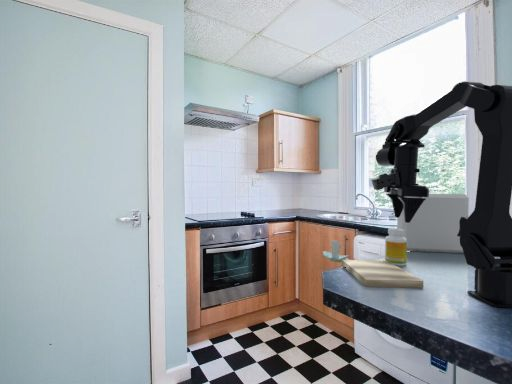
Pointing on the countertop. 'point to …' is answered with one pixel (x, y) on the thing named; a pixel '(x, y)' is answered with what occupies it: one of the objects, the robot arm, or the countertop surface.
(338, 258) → the pacifier
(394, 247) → the supplement bottle
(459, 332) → the countertop surface
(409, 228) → the bevelled white case
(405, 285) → the birch board
